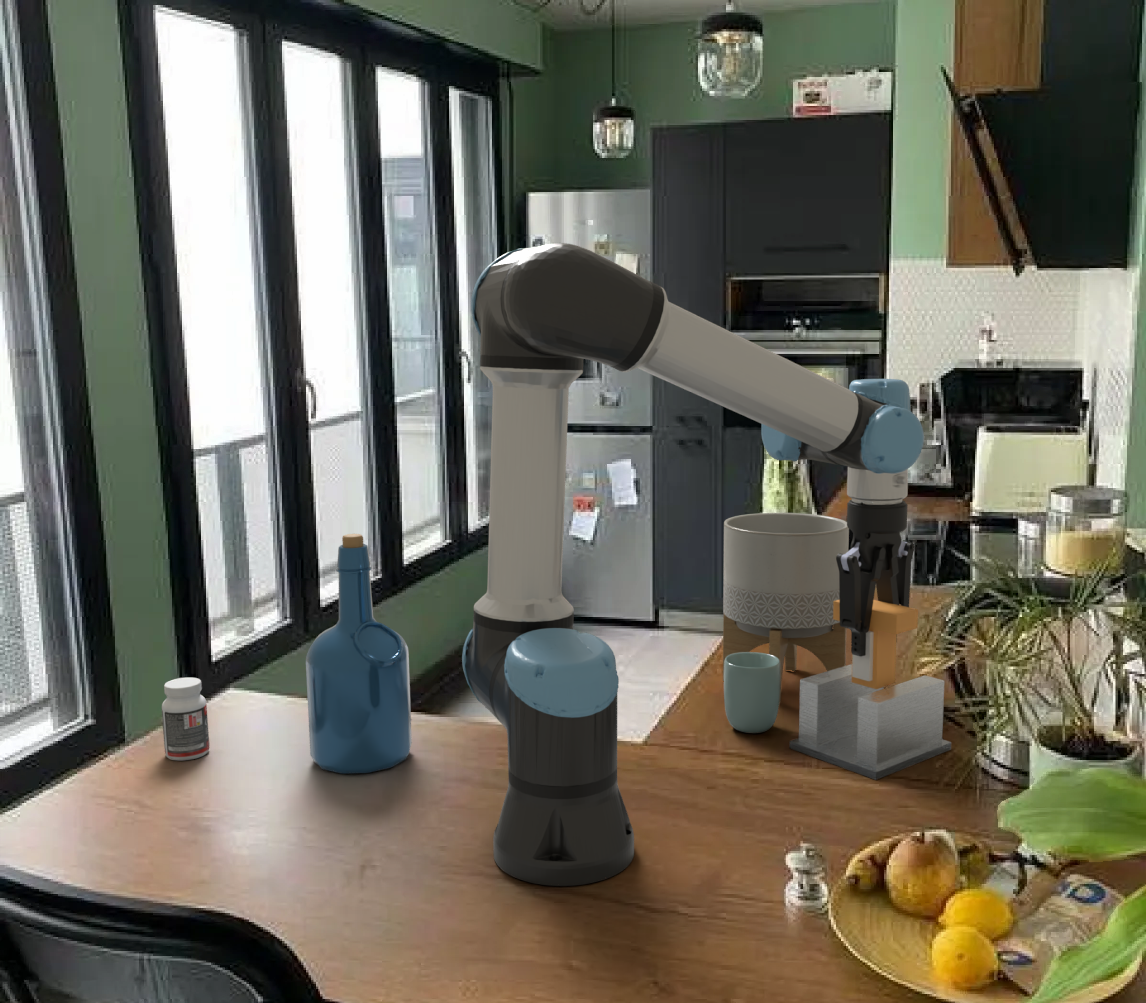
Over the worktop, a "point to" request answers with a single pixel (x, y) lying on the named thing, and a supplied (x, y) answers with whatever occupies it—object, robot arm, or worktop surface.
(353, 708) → the wine bottle
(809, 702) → the bracket
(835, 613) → the orange t-shaped block
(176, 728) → the pill bottle
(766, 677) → the cup
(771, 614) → the planter
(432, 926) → the worktop surface
